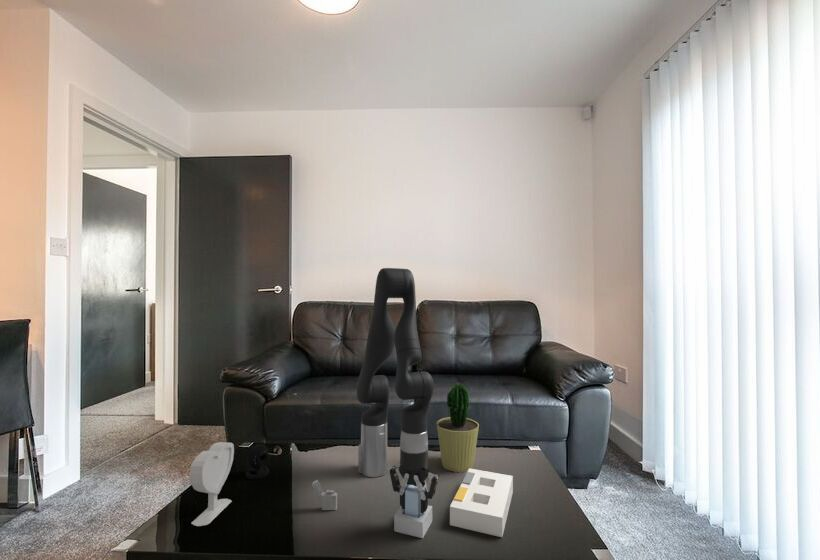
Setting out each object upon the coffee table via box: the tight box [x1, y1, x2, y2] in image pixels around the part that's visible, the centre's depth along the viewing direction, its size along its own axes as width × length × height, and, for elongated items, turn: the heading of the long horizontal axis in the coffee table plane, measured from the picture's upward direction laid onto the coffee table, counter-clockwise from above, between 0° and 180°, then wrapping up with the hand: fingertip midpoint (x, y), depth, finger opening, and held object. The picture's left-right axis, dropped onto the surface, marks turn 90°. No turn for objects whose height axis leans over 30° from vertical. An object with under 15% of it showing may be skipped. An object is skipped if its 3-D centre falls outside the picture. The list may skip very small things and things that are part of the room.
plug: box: [405, 485, 422, 518], centre depth 104 cm, size 4×4×10 cm
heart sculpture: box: [189, 441, 235, 527], centre depth 111 cm, size 16×5×18 cm, turn 175°
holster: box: [393, 504, 433, 539], centre depth 104 cm, size 8×8×4 cm
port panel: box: [449, 468, 514, 538], centre depth 113 cm, size 14×24×5 cm, turn 159°
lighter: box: [311, 479, 338, 511], centre depth 112 cm, size 7×2×8 cm, turn 89°
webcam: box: [245, 444, 270, 480], centre depth 132 cm, size 8×8×10 cm
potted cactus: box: [436, 382, 480, 473], centre depth 141 cm, size 15×15×30 cm
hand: (413, 509), depth 104 cm, fingers open, 5 cm apart
